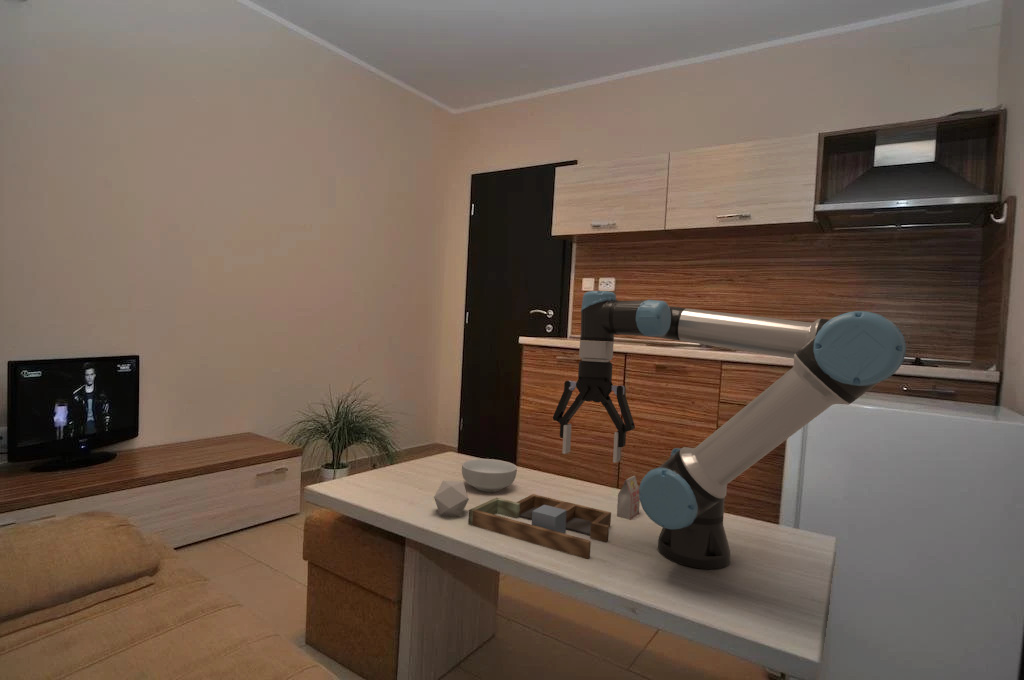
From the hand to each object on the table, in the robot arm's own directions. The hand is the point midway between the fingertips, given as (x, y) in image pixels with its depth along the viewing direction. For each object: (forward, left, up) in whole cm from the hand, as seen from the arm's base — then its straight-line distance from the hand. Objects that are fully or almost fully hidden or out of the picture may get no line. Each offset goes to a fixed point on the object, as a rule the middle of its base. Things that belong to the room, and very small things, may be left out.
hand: (590, 457), depth 114 cm
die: (+36, +3, -20) cm, 41 cm away
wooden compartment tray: (+13, -5, -20) cm, 24 cm away
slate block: (+10, 0, -20) cm, 22 cm away
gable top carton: (-1, -27, -20) cm, 34 cm away
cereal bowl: (+41, -22, -20) cm, 51 cm away
